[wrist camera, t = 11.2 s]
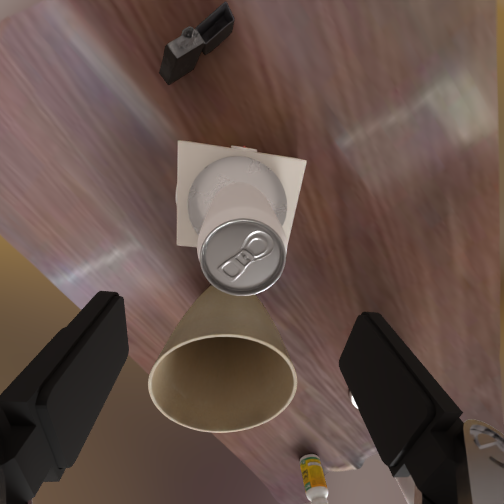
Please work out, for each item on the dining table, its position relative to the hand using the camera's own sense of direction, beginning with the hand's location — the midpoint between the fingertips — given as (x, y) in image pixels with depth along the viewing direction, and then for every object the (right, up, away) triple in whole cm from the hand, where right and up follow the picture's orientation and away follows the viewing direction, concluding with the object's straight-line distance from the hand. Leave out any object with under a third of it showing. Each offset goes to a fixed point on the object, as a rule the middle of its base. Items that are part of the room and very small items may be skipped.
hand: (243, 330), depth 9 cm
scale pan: (-1, +9, +18) cm, 20 cm away
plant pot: (-3, -4, +29) cm, 29 cm away
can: (-1, +8, +17) cm, 19 cm away
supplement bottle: (+16, -52, +53) cm, 75 cm away
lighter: (-5, +24, +15) cm, 29 cm away
